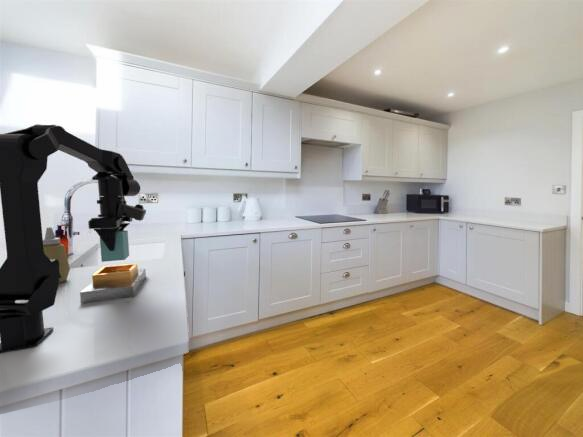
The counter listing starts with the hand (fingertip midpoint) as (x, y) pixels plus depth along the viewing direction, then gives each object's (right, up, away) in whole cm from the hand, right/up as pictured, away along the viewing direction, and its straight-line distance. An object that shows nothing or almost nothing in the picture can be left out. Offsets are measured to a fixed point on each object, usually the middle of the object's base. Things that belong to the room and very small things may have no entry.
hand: (115, 248), depth 74 cm
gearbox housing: (0, -12, +1) cm, 12 cm away
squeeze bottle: (-25, -12, +7) cm, 28 cm away
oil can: (0, -3, 0) cm, 3 cm away
